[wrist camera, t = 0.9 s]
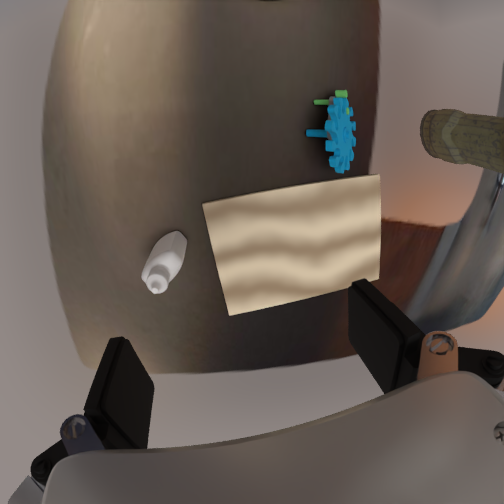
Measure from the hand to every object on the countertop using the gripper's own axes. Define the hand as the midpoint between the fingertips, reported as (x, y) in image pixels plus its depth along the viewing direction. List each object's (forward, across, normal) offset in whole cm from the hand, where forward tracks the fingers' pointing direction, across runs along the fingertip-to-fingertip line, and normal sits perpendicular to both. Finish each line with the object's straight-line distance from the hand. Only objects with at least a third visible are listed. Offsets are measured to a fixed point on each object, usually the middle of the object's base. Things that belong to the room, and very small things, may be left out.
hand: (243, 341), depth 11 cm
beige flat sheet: (+28, -11, +9) cm, 32 cm away
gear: (+28, -17, -7) cm, 34 cm away
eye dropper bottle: (+29, +8, +4) cm, 30 cm away
